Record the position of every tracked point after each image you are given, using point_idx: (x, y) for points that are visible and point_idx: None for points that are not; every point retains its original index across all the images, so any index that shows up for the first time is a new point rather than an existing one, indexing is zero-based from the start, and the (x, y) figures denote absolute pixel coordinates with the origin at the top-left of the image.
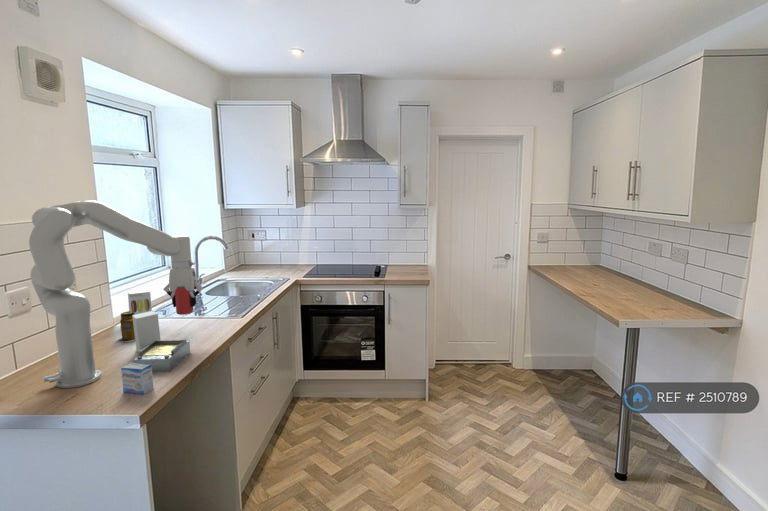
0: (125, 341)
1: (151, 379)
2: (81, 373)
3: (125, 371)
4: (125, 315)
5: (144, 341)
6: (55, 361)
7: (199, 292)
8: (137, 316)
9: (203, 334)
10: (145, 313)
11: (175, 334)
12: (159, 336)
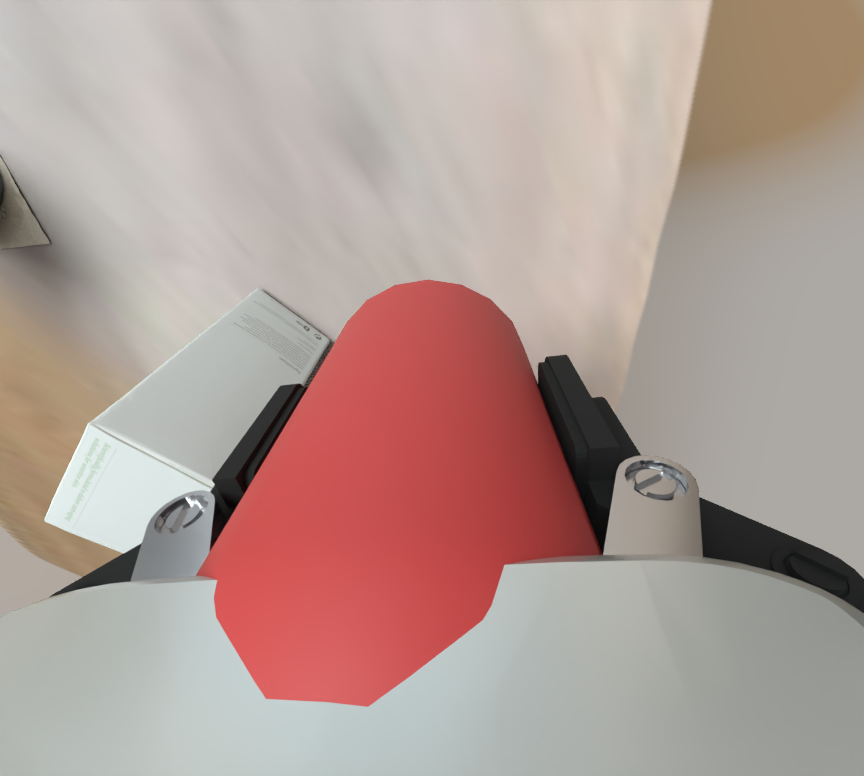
0: (3, 235)
1: None
2: None
3: None
4: None
5: None
6: (13, 470)
7: (828, 572)
8: (129, 546)
9: (447, 3)
10: (114, 498)
11: (197, 29)
12: (305, 381)
